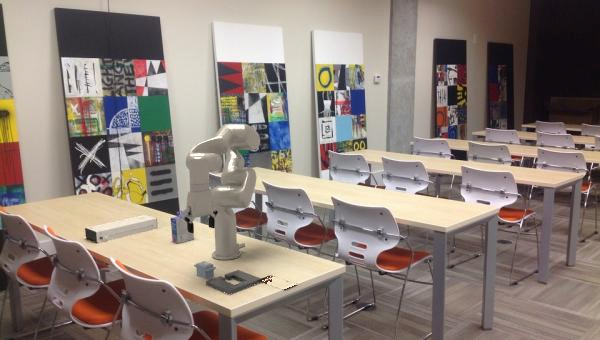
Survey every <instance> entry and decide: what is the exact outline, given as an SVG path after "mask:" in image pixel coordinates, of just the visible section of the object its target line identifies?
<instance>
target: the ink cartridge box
mask: <svg viewBox="0 0 600 340" xmlns="http://www.w3.org/2000/svg"><path fill="white" fill-rule="evenodd" d="M183 211H184V210H180V211H176V215H177V216H173V217H170V228H171V238H172V239H171V240H172V243H175V244H180V243H185V242H188V241H192V240H195V232H194V233H190V232H188V230H187V222H186V221H185V220H184V219H183V217H182V216H181V212H183ZM186 216H187V214H186ZM187 217H188V216H187ZM192 223H193V224H194V221H193V222H192Z"/></svg>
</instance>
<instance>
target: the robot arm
mask: <svg viewBox="0 0 600 340" xmlns="http://www.w3.org/2000/svg"><path fill="white" fill-rule="evenodd" d="M260 144H261V137H260V134H259V133H258V131H256V130H255V129H254V128H253V127H252V126H250V125H249V124H246V123H225V124H222V125H221V126H220V128H219V129H218V130H217V132H216V133H215V134H214V135H213V137H212V138H210V139H207V140H204V141H202V142H200V143H198V144H196V145H195V146H193V147H191V148H192V149H191V150H190V151H189V152H188V153H187V156H186V158H185V166H186V168H187V170H188V171H189V172H188V173H189V191H188V192H187V198H186V207H185V209H184V210H182V211H183V212H181V213H180V214H181V216H182V217H183V219H184V220H185V221H186V222H187V230H188V232H190V233H194V234H195V225H194V220H195V218H201V217H206V216H209V217H208V219H207V221H208V222H207V223H208V227H209V228H210V229H214V247H215V249H214V251H213V252H212V253H211V255H212V256H211V257H212V258H213V259H215V260H220V261H227V260H228V261H229V260H234V259H237V258H239V257H241V253H242V252H241V250H240V249H243V248H246V243H245V242H242V243H239V242H238V239H237V235H238V234H237V217H236V213H235V211H234V210H233V209H247V208H249V206H250V205H251V201H252V200H253V199H252V198H253V195H254V192H255V187H256V183H257V172H256V170H255V169H254V168H252V167H250V166H249V167H248V166H245V159H244V156H243V155H242V154H241V153H240V152H239V151H241V150H242V151H243V150H247V151H248V150H249V151H253V150H257V149H258V148H259V146H260ZM221 155H225V157H226V160H225V163H224V166H223V169H222V172H221V176H220V183H221V185H217V186H215V187H213V189H210V187H212V186H213V184H212V182H210V173H216V172H217V171H219V170H220V169H221V168H222V165H223V160H222V157H221ZM186 214H187V216H188V217H187V216H186ZM192 222H193V223H192Z"/></svg>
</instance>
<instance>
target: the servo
mask: <svg viewBox="0 0 600 340" xmlns="http://www.w3.org/2000/svg"><path fill="white" fill-rule="evenodd" d="M193 266H194V267H195V269H196V270H195V271H196V276H198V277H200V278H202V279H205V280H208V279H210V278H214V276H215V273H214V272H215V270H217V268H216V266H214V264H213V263H210V262H208V261H205V260H204V261H201V262H196V263H195V264H194V265H193Z"/></svg>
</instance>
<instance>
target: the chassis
mask: <svg viewBox="0 0 600 340" xmlns="http://www.w3.org/2000/svg"><path fill="white" fill-rule="evenodd" d="M262 278H263V277H258V276H256V275H253V274H251V273H247V272H245V271H243V270H239V269H237V270H234V271H231V272H227V273H226V274H224V276H221V275H219V276H217V277H212V278H211V279H210V278H209V279H206V280H205V285H206V286H208V287H210V288H213V289H214V290H217V291H219V290H220V291H219V292H221V293H224V292H225V294H226V293H227V295H229V294H230V295H232V294H235V293H237V291H238V292H240V291H242V289H243V290H245V289H247V287H248V288H250V287H249V286H251V287H253V286H255V285H254V284H256V285H258V284H257V283H259V284H261V283H260V282H262ZM235 279H236V281H238V283H236V284H235V283H234V284H233V283H231V282H229V281H231V280H235ZM227 280H228V281H227ZM252 285H253V286H252ZM244 288H245V289H244ZM239 290H240V291H239ZM234 292H235V293H234ZM231 293H232V294H231Z"/></svg>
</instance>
